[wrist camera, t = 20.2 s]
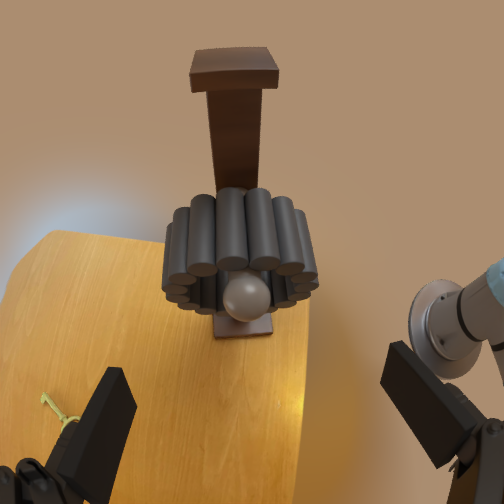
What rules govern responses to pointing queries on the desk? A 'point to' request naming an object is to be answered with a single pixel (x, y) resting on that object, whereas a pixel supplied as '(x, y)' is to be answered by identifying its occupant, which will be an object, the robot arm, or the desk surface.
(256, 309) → the brown pillar stand
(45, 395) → the key
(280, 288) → the grey cylinder ring
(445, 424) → the robot arm
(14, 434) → the desk surface
